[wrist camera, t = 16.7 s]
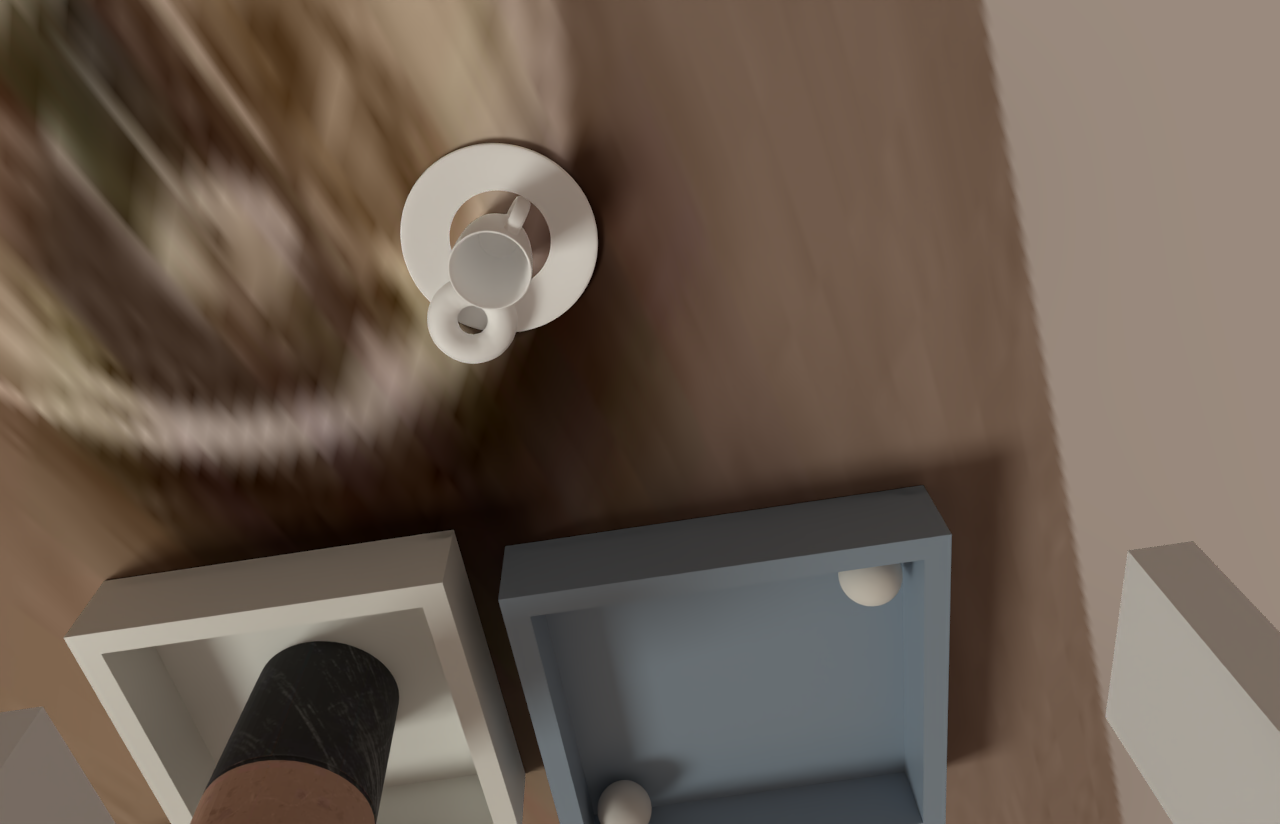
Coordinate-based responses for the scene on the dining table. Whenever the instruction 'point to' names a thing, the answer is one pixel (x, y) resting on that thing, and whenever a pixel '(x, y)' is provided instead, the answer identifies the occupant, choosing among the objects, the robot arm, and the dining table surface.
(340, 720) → the travel mug
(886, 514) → the bin
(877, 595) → the pebble
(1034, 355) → the dining table surface
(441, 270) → the teacup and saucer
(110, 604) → the tray
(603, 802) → the pebble
